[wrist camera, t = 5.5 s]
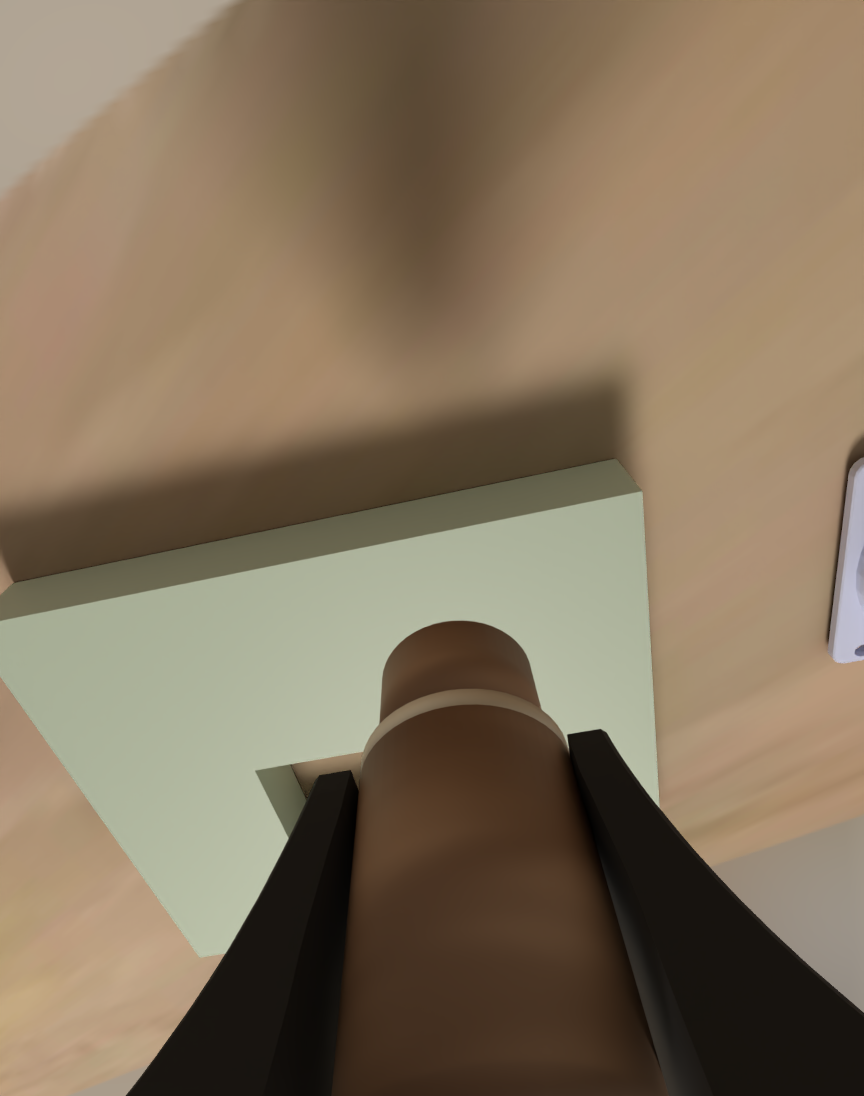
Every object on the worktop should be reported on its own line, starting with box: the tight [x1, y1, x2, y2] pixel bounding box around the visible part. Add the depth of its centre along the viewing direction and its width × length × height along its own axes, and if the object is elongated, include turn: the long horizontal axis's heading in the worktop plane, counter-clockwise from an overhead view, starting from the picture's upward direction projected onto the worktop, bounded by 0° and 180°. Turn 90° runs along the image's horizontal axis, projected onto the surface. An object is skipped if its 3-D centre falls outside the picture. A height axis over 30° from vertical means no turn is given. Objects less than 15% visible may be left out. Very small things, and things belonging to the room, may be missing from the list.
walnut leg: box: [331, 620, 669, 1096], centre depth 11 cm, size 4×4×8 cm
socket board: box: [0, 459, 659, 957], centre depth 23 cm, size 20×18×2 cm
